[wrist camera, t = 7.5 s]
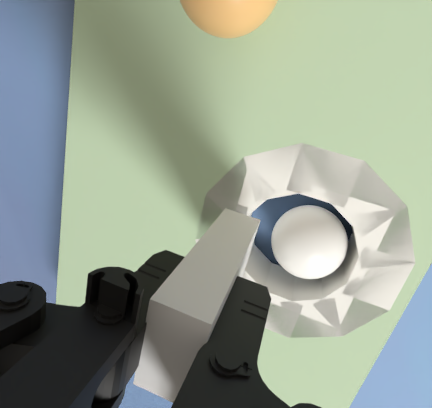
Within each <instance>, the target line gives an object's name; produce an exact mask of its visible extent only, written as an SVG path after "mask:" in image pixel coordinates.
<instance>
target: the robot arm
mask: <svg viewBox="0 0 432 408" xmlns="http://www.w3.org/2000/svg"><path fill="white" fill-rule="evenodd" d="M259 223H260V220H259V219H256V218H253V217H250V216H247V215H244V214H241V213H238V212H235V211H232V210H229V209H226V208H225V210H224V211H223V212H222V213H221V214H220V216H219V217H218V218H217V219H216V220H215V222H214V223H213V224H212V225H211V226H210V228H209V229H208V230H207V231H206V232H205V234H204V235H203V236H202V237H201V238H200V240H199V241H198V242H197V243H196V244H195V246H194V247H193V248H192V249H191V250H190V252H189V253H188V254H187V255H186V256H185V257H184V256H181V255H178V254H176V253H173V252H170V251H168V250H164V251H161V252H158V253H156V254H153V255H152V256H151V257H150V258H149V259H148V260H147V261H146V262H145V263H144V264H143V265H142V266H141V267H139V268H138V270H137V271H135V272H133V271H131V270H129V269H125V268H122V267H103V268H98V269H96V270H94V271H92V272H90V273H88V278H87V288H86V297H85V303H84V304H83V305H82V306H80V307H77V306H66V305H59V304H53V303H46V292H45V291H44V290H43V288H42V287H41V286H39V285H37V284H34V283H31V282H25V281H14V282H6V283H3V284H0V408H118V407H119V405H120V404H121V402H122V399H123V396H124V393H125V388H126V384H127V383H128V381H129V380H130V378H131V377H132V375H133V374H134V372H135V371H136V372H135V377H134V382H133V384H135V385H137V386H139V387H141V388H143V389H145V390H147V391H150V392H152V393H154V394H156V395H158V396H160V397H162V398H164V399H166V400H168V401H171V402H173V405H172V407H171V408H321V407H319V406H316V405H314V404H311V403H298V404H296V405H294V406H292V407H290V406H289V405H287V404H286V403H285V402H284V401H282V400H281V399H280V398H278V397H277V396H276V395H275V394H274V393H273V392H272V391H271V390H270V389H269V388H268V387H267V385H266V384H265V383H264V381H263V380H262V378H261V376H260V373H259V370H258V365H257V362H258V355H259V350H260V346H261V342H262V337H263V333H264V328H265V324H266V320H267V315H268V311H269V307H270V302H271V296H270V294H269V291H268V288H267V287H266V286H263V285H261V284H258V283H255V282H253V281H250V280H247V279H245V278H242V277H243V274H244V270H245V267H246V264H247V261H248V258H249V255H250V252H251V249H252V245H253V242H254V239H255V236H256V233H257V230H258V227H259Z"/></svg>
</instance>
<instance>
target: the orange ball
mask: <svg viewBox="0 0 432 408" xmlns="http://www.w3.org/2000/svg"><path fill="white" fill-rule="evenodd" d="M277 1H278V0H180V3H181V5H182V7H183V9H184V11H185V12H186V14H187V16H188V17H189V18H190V20H191V21H192V22H193V23H194V24H195V25H196V26H197V27H199V28H200V29H201V30H203V31H204V32H206V33H208V34H210V35H212V36H216V37H219V38H237V37H241V36H244V35H246V34H249V33H251V32H252V31H254V30H255V29H257V28H258V27H259V26H260V25H262V24H263V23H264V22H265V21H266V19H267V18H268V17H269V16H270V14H271V13H272V11H273V9H274V8H275V6H276V3H277Z"/></svg>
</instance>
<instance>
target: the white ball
mask: <svg viewBox="0 0 432 408" xmlns="http://www.w3.org/2000/svg"><path fill="white" fill-rule="evenodd" d="M271 245H272V250H273V253H274V256H275V258H276V260H277V261H278V263H279V264H280V265H281V266H282V268H284V269H285V270H286V271H287V272H289V273H290V274H292V275H294V276H296V277H300V278H303V279H318V278H322V277H325V276H327V275H329V274H331V273H332V272H334V271H335V270H336V269H337V268H338V267H339V266H340V265H341V263H342V262H343V260H344V258H345V256H346V253H347V248H348V238H347V234H346V231H345V228H344V226H343V224H342V223H341V221H340V220H339V219H338V218H337V217H336V216H335V215H334V214H333V213H331V212H330V211H328V210H326V209H325V208H322V207H319V206H314V205H303V206H298V207H295V208H292V209H290V210H289V211H287V212H286V213H284V214H283V215H282V216H281V217H280V218H279V220H278V221H277V222H276V224H275V226H274V229H273V232H272V237H271Z"/></svg>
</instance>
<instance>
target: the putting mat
mask: <svg viewBox="0 0 432 408" xmlns="http://www.w3.org/2000/svg"><path fill="white" fill-rule="evenodd" d="M293 194H302V195H305V196H308V197H312V198H315V199H318V200H321V201H324V202H327V203H331V204H332V205H333V206H334V207H335V208H336V209H337V210H338V211H339V213H340V214H341V215H342V216H343V217H344V218H345V219H346V220H347V221H348V222H349V223H350V224H351V227H352V234H351V236H350V239H349V241H348V248H347V253H346V256H345V258H344V260H343V262H342V263H341V265H340V266H339V267H338V268H337V269H336V270H335V271H334V272H332V273H331V274H329V275H327V276H325V277H322V278H318V279H303V278H300V277H296V276H294V275H292V274H290V273H289V272H287V271H286V270H285V269H284V268H282V266H279V265H276V264H273V263H271V262H270V260H269V259H268V258H267V257H266V256H265V255H264V254H263V253H262V252H261V251H260V250H259V249H258V248H257V247H256V246H255V243H254V242H253V245H252V249H251V252H250V255H249V258H248V261H247V264H246V267H245V270H244V274H243V277H242V278H245V279H247V280H250V281H253V282H255V283H258V284H261V285H263V286H266V287H267V288H268V291H269V294H270V296H271V302H270V307H269V311H268V315H267V320H266V324H265V328H264V333H263V337H262V342H261V346H260V350H259V355H258V362H257V365H258V370H259V373H260V376H261V378H262V380H263V381H264V383H265V384H266V385H267V387H268V388H269V389H270V390H271V391H272V392H273V393H274V394H275V395H276V396H277V397H278V398H280V399H281V400H282V401H284V402H285V403H286V404H287V405H289V406H290V407H292V406H294V405H296V404H298V403H311V404H314V405H316V406H319V407H321V408H349V407H350V405H351V403H352V401H353V400H354V398H355V396H356V394H357V393H358V391H359V389H360V387H361V386H362V384H363V382H364V380H365V379H366V377H367V375H368V373H369V372H370V370H371V368H372V366H373V365H374V363H375V361H376V359H377V358H378V356H379V354H380V352H381V350H382V349H383V347H384V345H385V343H386V342H387V340H388V338H389V336H390V335H391V333H392V331H393V329H394V328H395V326H396V324H397V322H398V321H399V319H400V317H401V315H402V314H403V312H404V310H405V308H406V307H407V305H408V303H409V301H410V300H411V298H412V296H413V294H414V293H415V291H416V289H417V287H418V286H419V284H420V282H421V280H422V279H423V277H424V275H425V273H426V272H427V270H428V268H429V266H430V265H431V263H432V0H278V1H277V3H276V6H275V8H274V9H273V11H272V13H271V14H270V16H269V17H268V18H267V19H266V21H265V22H264V23H263V24H262V25H260V26H259V27H258V28H257V29H255V30H254V31H252V32H251V33H249V34H246V35H244V36H241V37H237V38H219V37H216V36H212V35H210V34H208V33H206V32H204V31H203V30H201V29H200V28H199V27H197V26H196V25H195V24H194V23H193V22H192V21H191V20H190V18H189V17H188V16H187V14H186V12H185V11H184V9H183V7H182V5H181V3H180V0H75V7H74V23H73V38H72V54H71V70H70V86H69V102H68V118H67V134H66V150H65V166H64V182H63V198H62V214H61V230H60V246H59V262H58V278H57V294H56V304H59V305H66V306H77V307H80V306H82V305H83V304H84V303H85V297H86V288H87V278H88V273H90V272H92V271H94V270H96V269H98V268H103V267H122V268H125V269H129V270H131V271H133V272H135V271H137V270H138V268H139V267H141V266H142V265H143V264H144V263H145V262H146V261H147V260H148V259H149V258H150V257H151V256H152V255H153V254H156V253H158V252H161V251H164V250H168V251H170V252H173V253H176V254H178V255H181V256H184V257H185V256H186V255H187V254H188V253H189V252H190V250H191V249H192V248H193V247H194V246H195V244H196V243H197V242H198V241H199V240H200V238H201V237H202V236H203V235H204V234H205V232H206V231H207V230H208V229H209V228H210V226H211V225H212V224H213V223H214V222H215V220H216V219H217V218H218V217H219V216H220V214H221V213H222V212H223V211H224V210H225V208H226V209H229V210H232V211H235V212H238V213H241V214H244V215H247V216H250V217H251V215H252V212H253V211H254V210H255V209H257V208H258V207H259V206H260V205H261V204H262V203H264V202H265V201H266V200H267V199H272V198H277V197H283V196H288V195H293Z"/></svg>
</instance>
